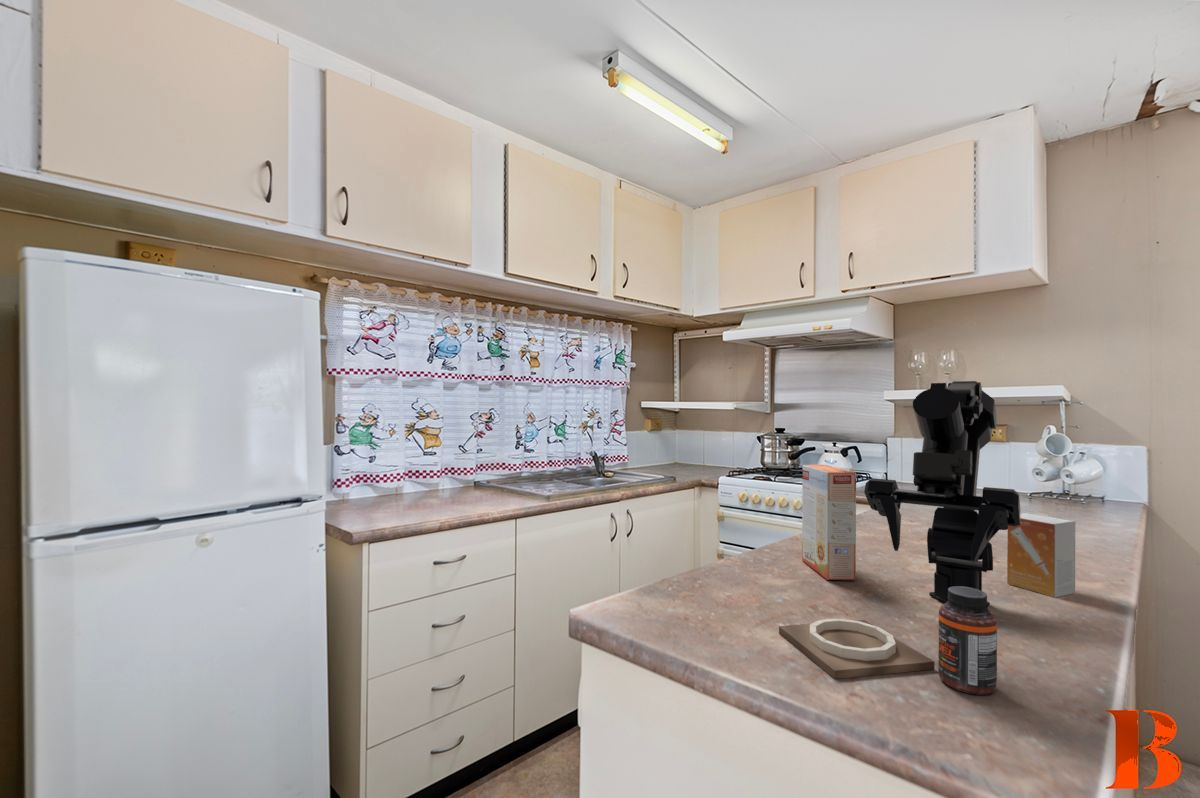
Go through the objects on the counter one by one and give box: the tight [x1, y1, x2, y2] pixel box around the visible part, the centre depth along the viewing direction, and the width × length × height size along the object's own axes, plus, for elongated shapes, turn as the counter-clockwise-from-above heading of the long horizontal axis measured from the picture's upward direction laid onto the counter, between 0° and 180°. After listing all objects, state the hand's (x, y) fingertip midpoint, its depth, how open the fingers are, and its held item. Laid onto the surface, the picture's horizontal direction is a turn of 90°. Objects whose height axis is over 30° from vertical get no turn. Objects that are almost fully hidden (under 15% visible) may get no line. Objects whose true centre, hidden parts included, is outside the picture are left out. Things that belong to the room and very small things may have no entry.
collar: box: [809, 618, 896, 661], centre depth 77 cm, size 11×11×1 cm
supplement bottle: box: [937, 586, 998, 696], centre depth 68 cm, size 6×6×11 cm
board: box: [778, 619, 935, 680], centre depth 77 cm, size 14×14×1 cm
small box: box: [1006, 512, 1076, 598], centre depth 103 cm, size 8×6×13 cm
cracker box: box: [801, 464, 857, 581], centre depth 114 cm, size 14×6×21 cm, turn 179°
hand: (932, 555), depth 77 cm, fingers open, 9 cm apart
